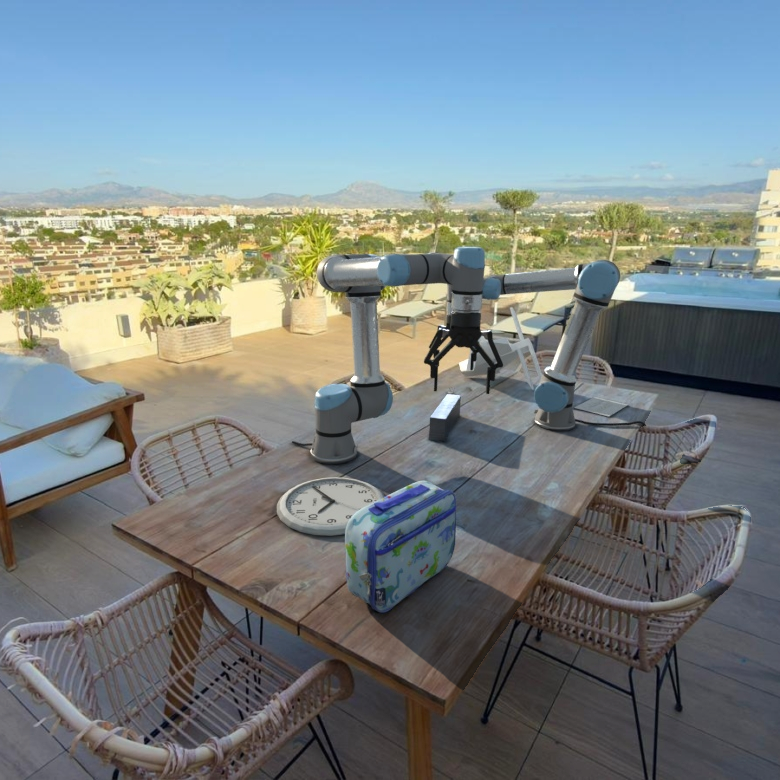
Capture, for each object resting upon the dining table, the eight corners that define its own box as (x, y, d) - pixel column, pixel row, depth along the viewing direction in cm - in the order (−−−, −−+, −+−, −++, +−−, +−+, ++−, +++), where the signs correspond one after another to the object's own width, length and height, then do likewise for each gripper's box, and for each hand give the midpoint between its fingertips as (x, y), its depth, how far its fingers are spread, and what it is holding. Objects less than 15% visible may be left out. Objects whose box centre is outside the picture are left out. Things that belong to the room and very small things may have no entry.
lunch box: (374, 626, 100) (375, 530, 93) (338, 598, 107) (337, 508, 101) (459, 568, 117) (465, 484, 111) (424, 547, 124) (427, 467, 118)
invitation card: (608, 416, 214) (573, 407, 224) (608, 416, 214) (573, 408, 224) (628, 404, 229) (594, 396, 238) (628, 405, 229) (594, 397, 238)
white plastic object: (480, 418, 266) (459, 395, 242) (461, 346, 288) (441, 318, 264) (550, 394, 254) (536, 368, 229) (526, 321, 276) (510, 289, 251)
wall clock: (392, 527, 129) (268, 531, 127) (391, 533, 130) (269, 537, 127) (383, 473, 158) (282, 475, 155) (383, 478, 158) (282, 480, 156)
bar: (446, 414, 214) (447, 394, 211) (459, 415, 212) (460, 395, 210) (428, 439, 188) (429, 417, 185) (444, 442, 186) (445, 419, 184)
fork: (440, 400, 230) (440, 396, 230) (449, 390, 245) (449, 386, 244) (446, 401, 230) (446, 396, 229) (454, 391, 244) (455, 387, 243)
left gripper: (415, 311, 129) (413, 392, 135) (518, 314, 126) (511, 398, 133) (417, 306, 136) (415, 384, 143) (515, 310, 134) (508, 389, 140)
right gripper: (421, 313, 197) (420, 367, 204) (488, 316, 190) (485, 373, 196) (427, 310, 204) (425, 363, 210) (491, 313, 197) (488, 368, 203)
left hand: (461, 391), depth 138 cm, fingers open, 13 cm apart
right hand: (454, 368), depth 203 cm, fingers open, 13 cm apart
